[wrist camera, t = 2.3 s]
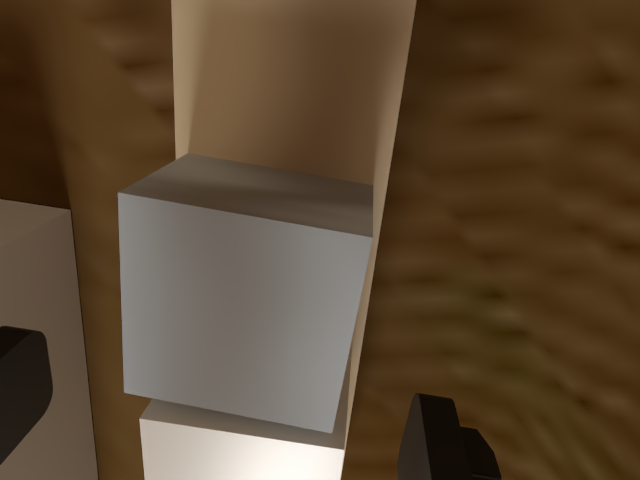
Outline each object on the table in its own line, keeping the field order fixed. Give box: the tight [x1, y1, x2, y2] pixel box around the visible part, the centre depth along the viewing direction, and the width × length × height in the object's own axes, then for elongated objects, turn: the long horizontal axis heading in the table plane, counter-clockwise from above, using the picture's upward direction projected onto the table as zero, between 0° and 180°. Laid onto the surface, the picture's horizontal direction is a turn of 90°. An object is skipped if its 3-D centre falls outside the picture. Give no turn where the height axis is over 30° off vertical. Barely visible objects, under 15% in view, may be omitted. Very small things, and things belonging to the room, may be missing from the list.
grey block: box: [118, 153, 373, 433], centre depth 10 cm, size 4×4×3 cm
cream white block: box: [140, 355, 352, 480], centre depth 12 cm, size 4×4×3 cm
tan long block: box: [171, 0, 417, 480], centre depth 15 cm, size 5×18×4 cm, turn 175°
